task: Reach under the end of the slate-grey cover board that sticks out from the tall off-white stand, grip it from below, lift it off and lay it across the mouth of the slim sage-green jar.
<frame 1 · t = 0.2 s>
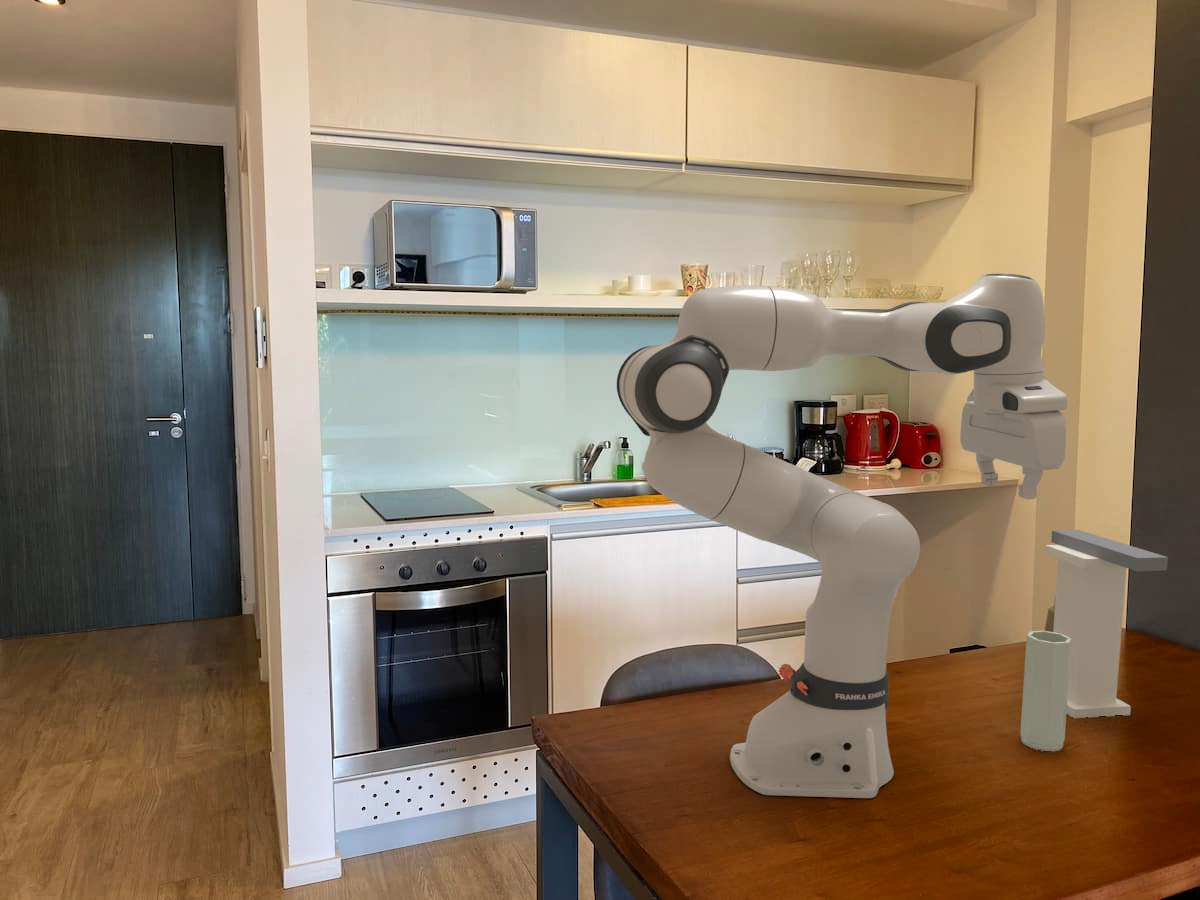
hand: (1007, 491, 128), 39 cm above the table, tool pointing down, fingers open, 8 cm apart
jar: (1041, 743, 137), on the table
stand: (1081, 704, 152), on the table
squeeze bottle: (1063, 675, 165), on the table
cover: (1105, 555, 146), point 26 cm above the table, touching stand
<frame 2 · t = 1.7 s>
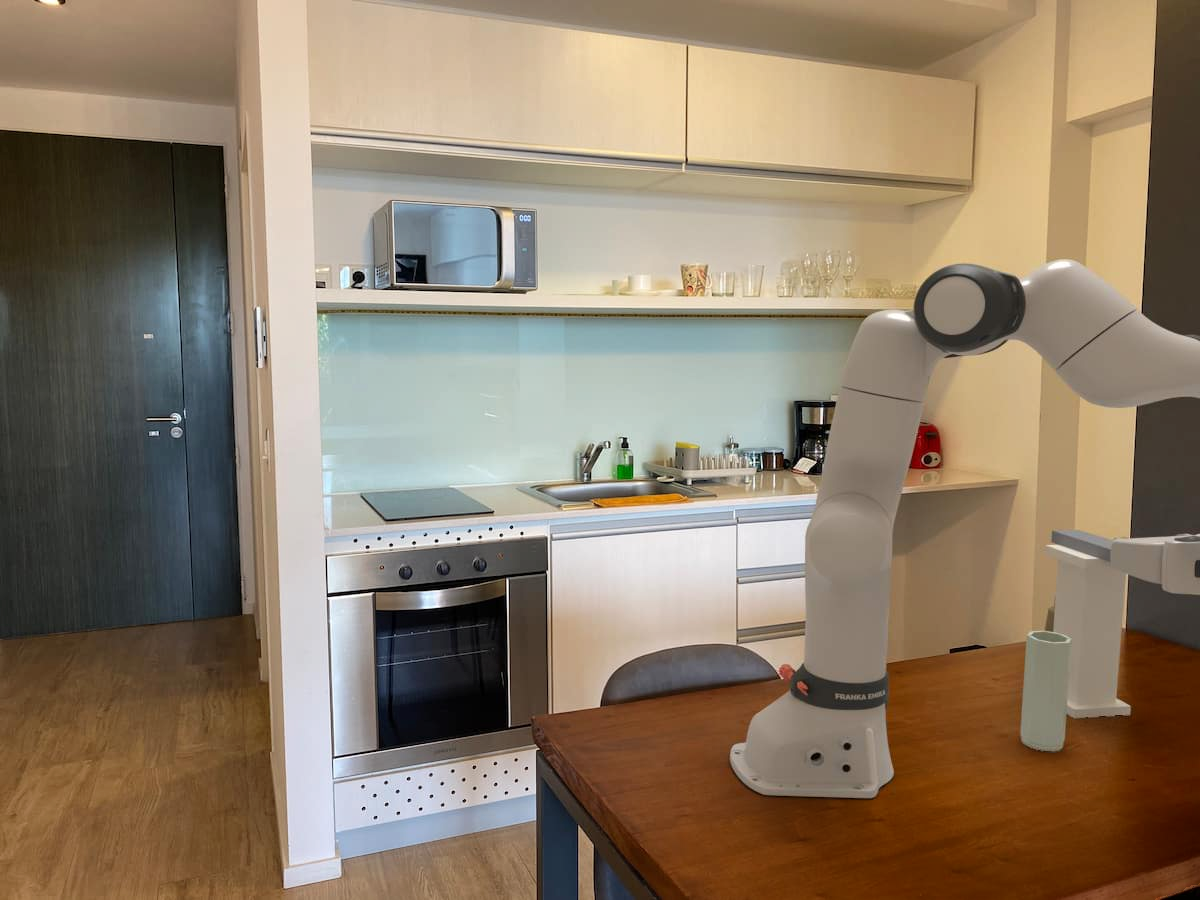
hand: (1148, 541, 124), 33 cm above the table, tool horizontal, fingers open, 8 cm apart
nothing on the table moved.
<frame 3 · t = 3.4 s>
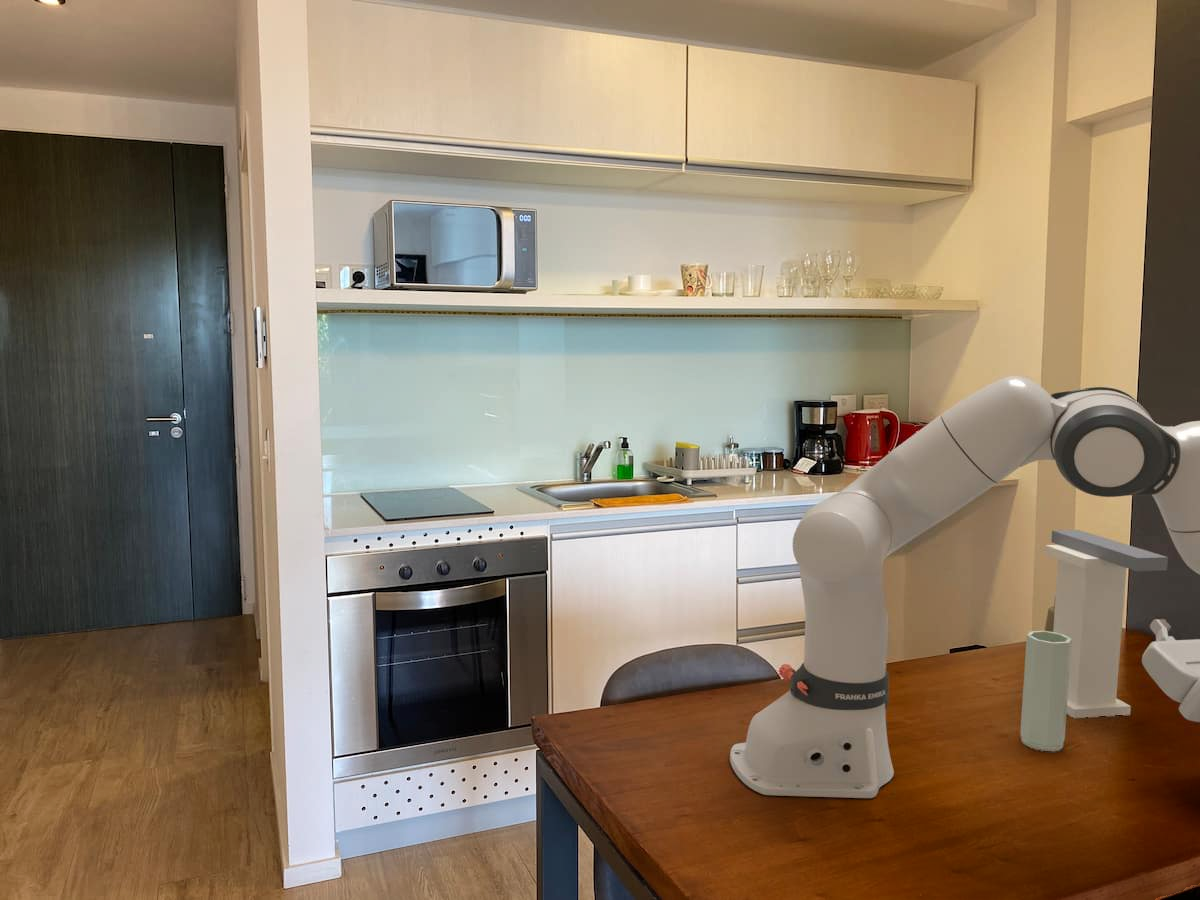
hand: (1186, 620, 130), 21 cm above the table, tool pointing upward, fingers open, 8 cm apart
nothing on the table moved.
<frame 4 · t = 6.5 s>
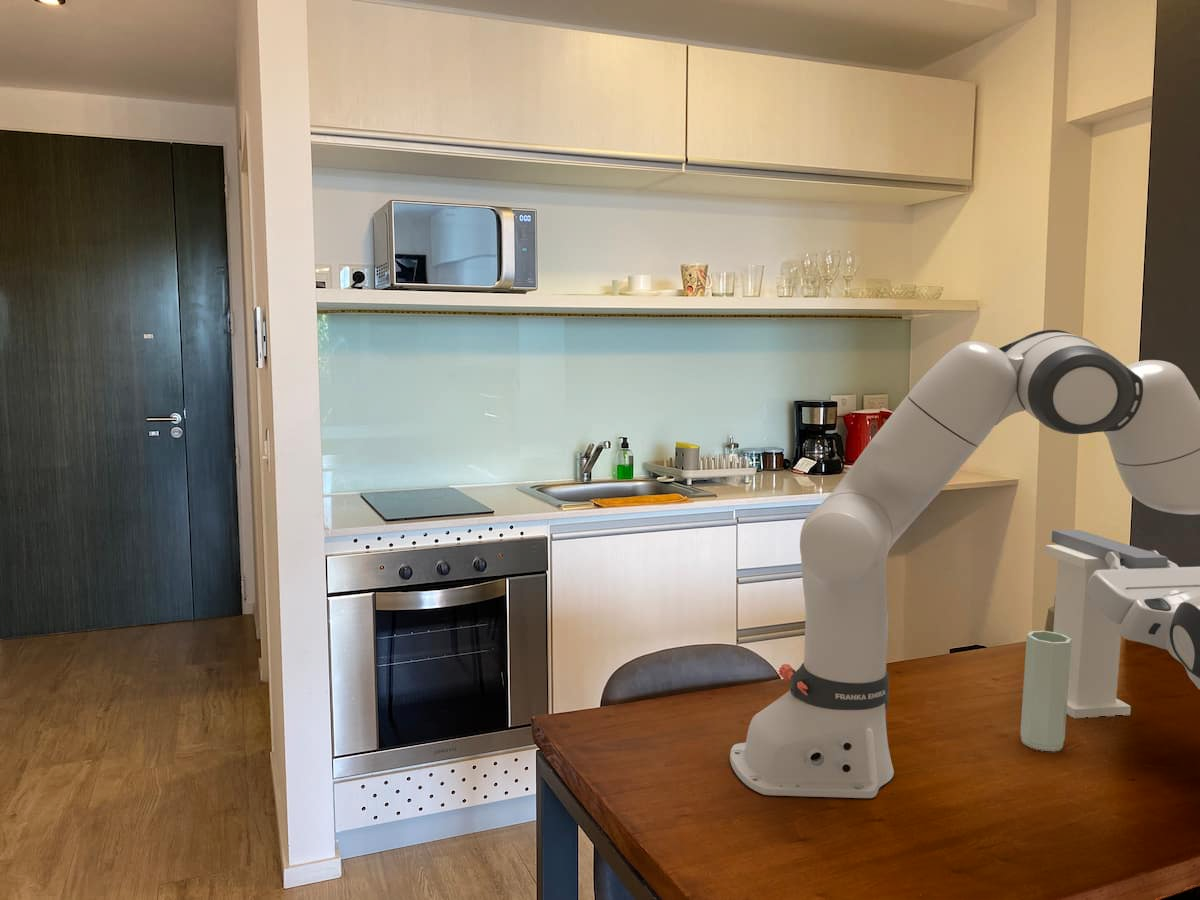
hand: (1129, 553, 140), 27 cm above the table, tool pointing upward, fingers closed on cover, 5 cm apart
cover: (1105, 555, 146), point 26 cm above the table, touching gripper, stand
everything else where it was.
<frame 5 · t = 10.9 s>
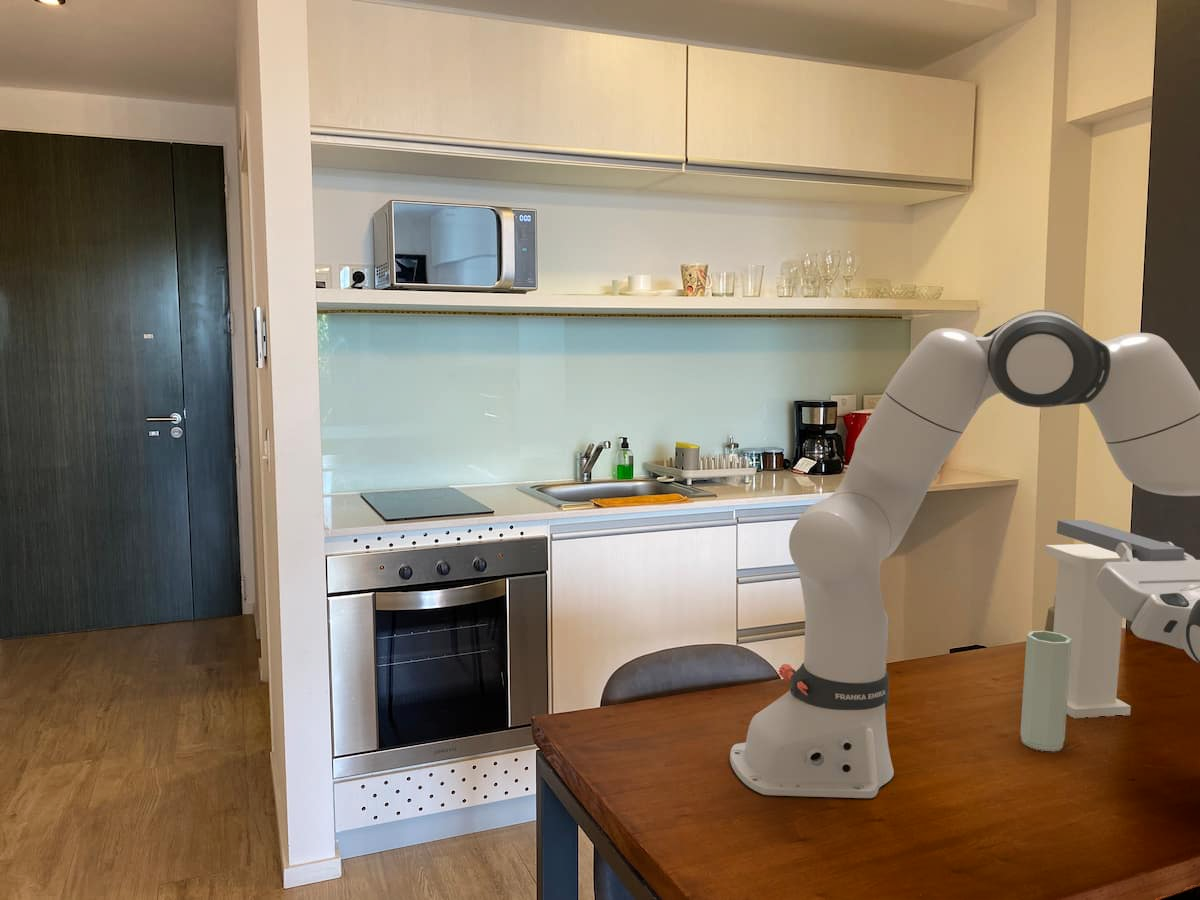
hand: (1142, 545, 129), 31 cm above the table, tool pointing upward, fingers closed on cover, 5 cm apart
cover: (1115, 547, 135), point 30 cm above the table, touching gripper
everything else where it was.
when the fingers open (20 cm above the table, at t = 15.3 s): cover drops 2 cm, resting on jar.
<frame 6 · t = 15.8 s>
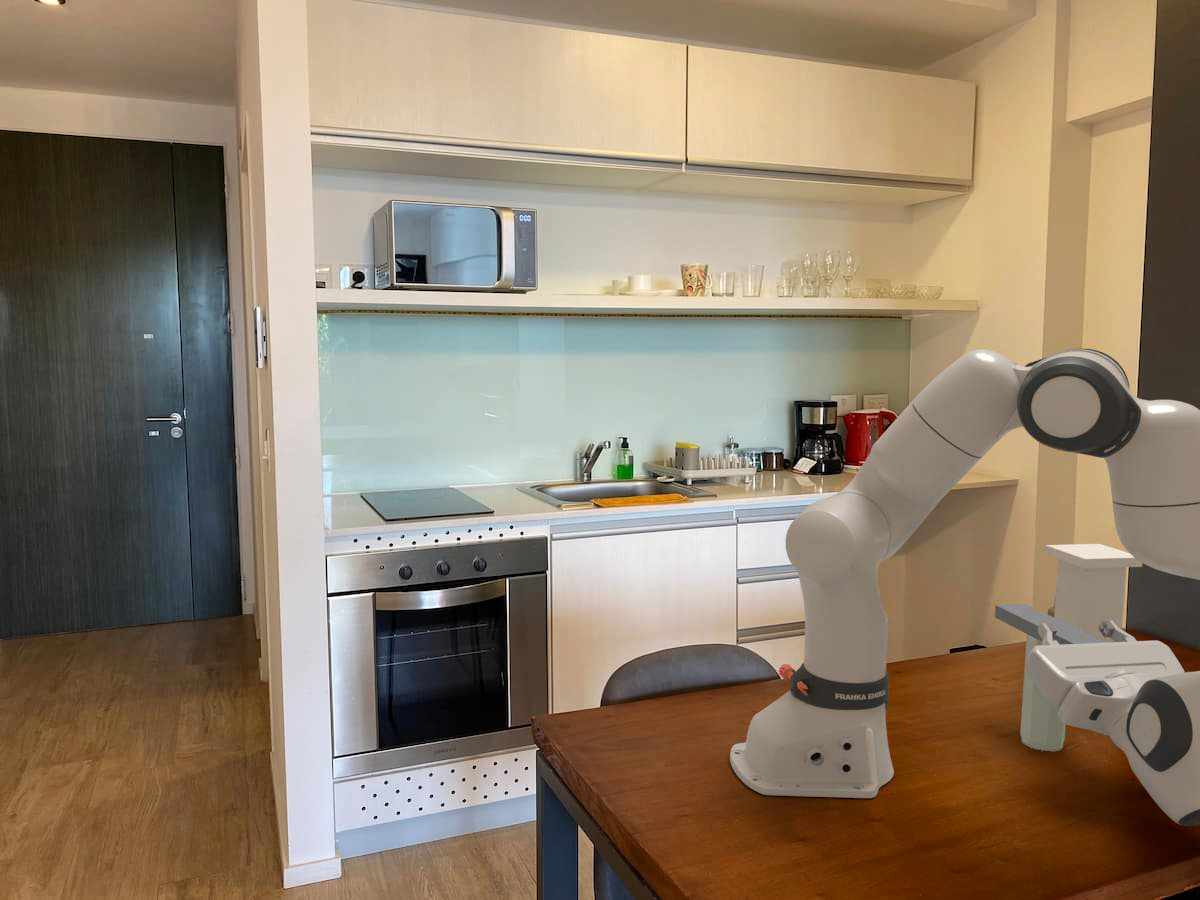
hand: (1074, 624, 129), 20 cm above the table, tool pointing upward, fingers open, 8 cm apart
cover: (1049, 636, 135), point 16 cm above the table, touching jar
everything else where it was.
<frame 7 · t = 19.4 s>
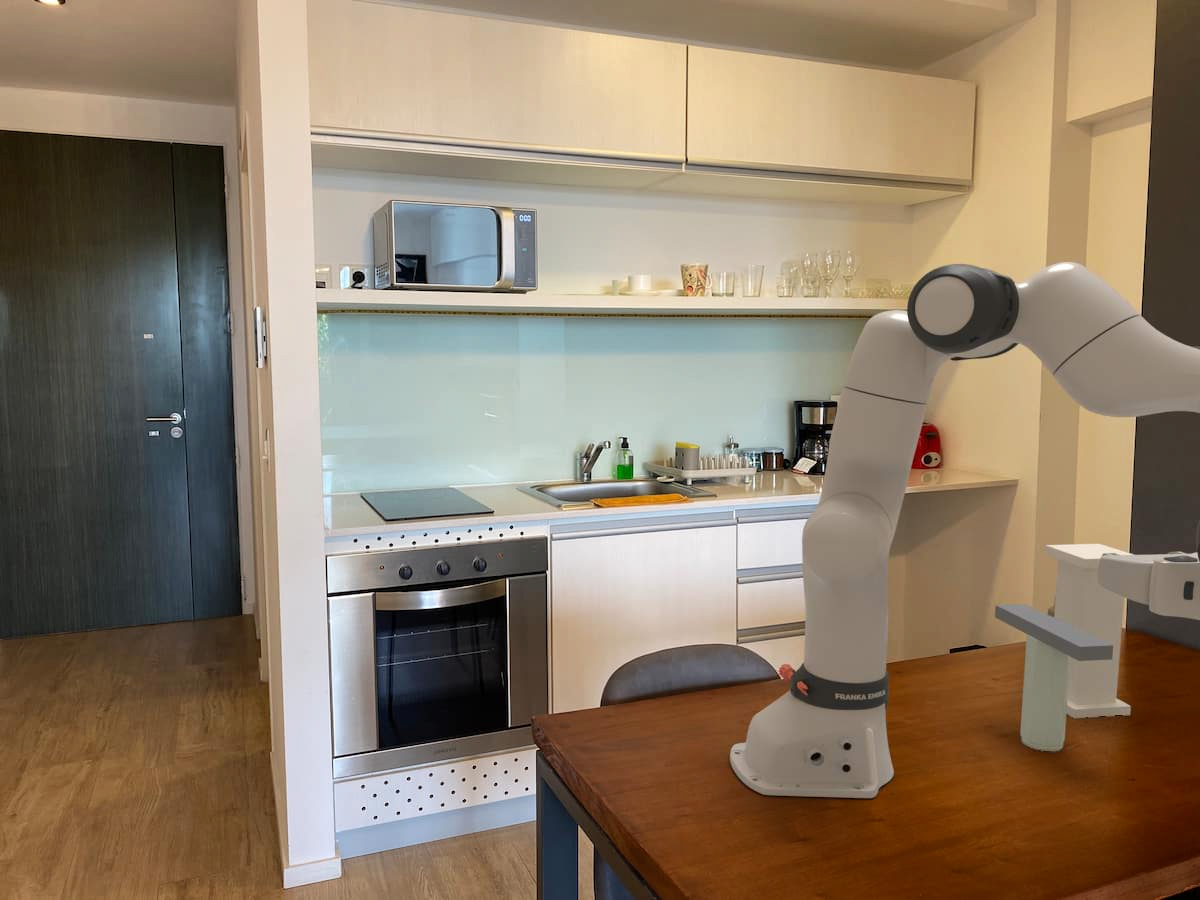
hand: (1139, 558, 119), 32 cm above the table, tool horizontal, fingers open, 8 cm apart
nothing on the table moved.
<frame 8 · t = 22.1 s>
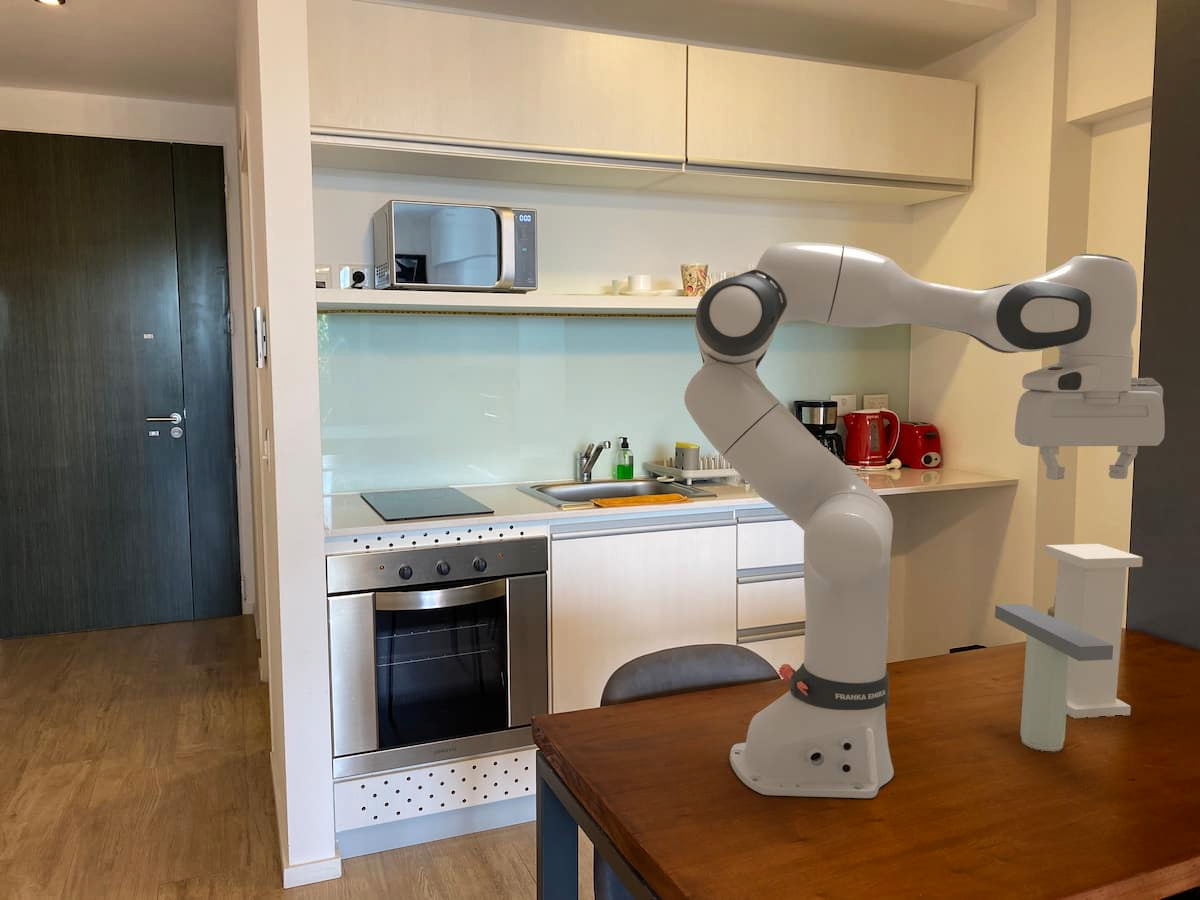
hand: (1086, 478, 125), 41 cm above the table, tool pointing down, fingers open, 8 cm apart
nothing on the table moved.
at the end: cover 0.0 cm off-centre on the jar, point 16.5 cm above the jar's base; cover tilted 0°; the gripper is holding nothing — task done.
